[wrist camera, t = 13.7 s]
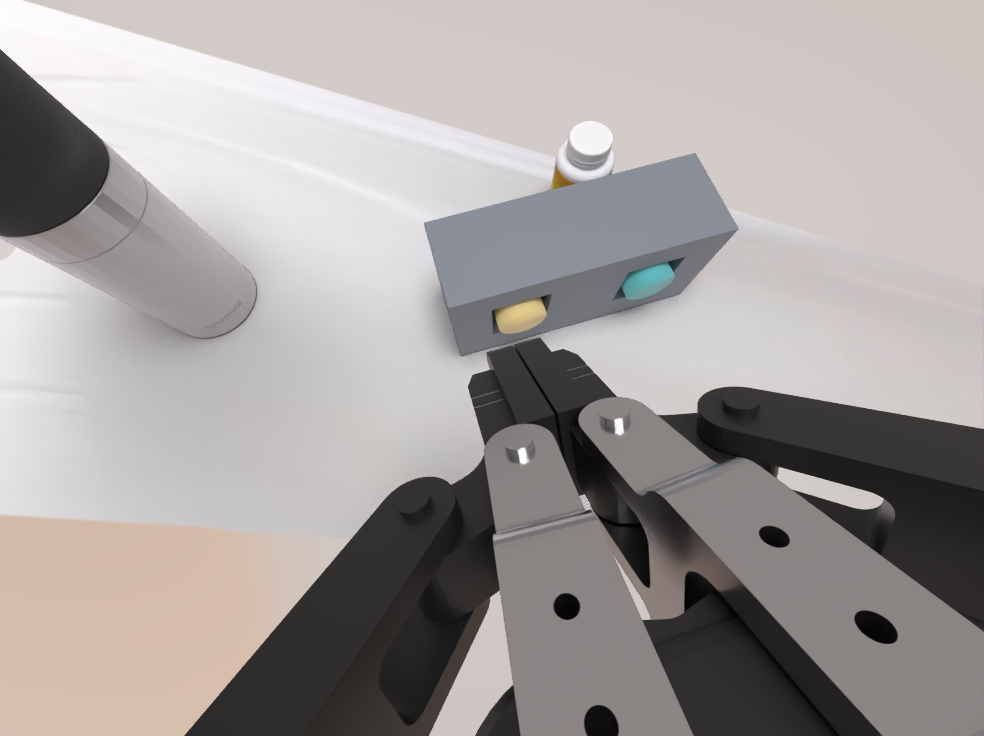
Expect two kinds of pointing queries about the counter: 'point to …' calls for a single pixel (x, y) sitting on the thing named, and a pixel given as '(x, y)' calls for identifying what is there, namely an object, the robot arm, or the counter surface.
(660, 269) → the teal button
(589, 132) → the supplement bottle
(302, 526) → the counter surface
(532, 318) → the mustard button
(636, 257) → the console
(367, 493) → the counter surface
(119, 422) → the counter surface
